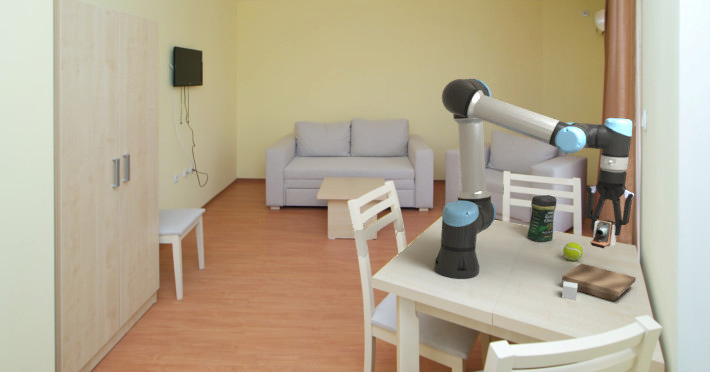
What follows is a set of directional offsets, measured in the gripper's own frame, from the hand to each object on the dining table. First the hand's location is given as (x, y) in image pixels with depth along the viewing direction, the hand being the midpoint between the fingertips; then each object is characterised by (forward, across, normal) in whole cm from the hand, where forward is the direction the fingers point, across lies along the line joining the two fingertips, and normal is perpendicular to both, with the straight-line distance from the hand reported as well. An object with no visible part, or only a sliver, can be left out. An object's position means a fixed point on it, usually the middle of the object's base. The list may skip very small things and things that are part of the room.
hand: (604, 242), depth 164 cm
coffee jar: (+15, -35, +35) cm, 52 cm away
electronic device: (+1, 0, -1) cm, 1 cm away
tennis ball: (+15, -16, +20) cm, 30 cm away
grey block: (+15, -4, -13) cm, 21 cm away
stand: (+15, 0, 0) cm, 15 cm away
